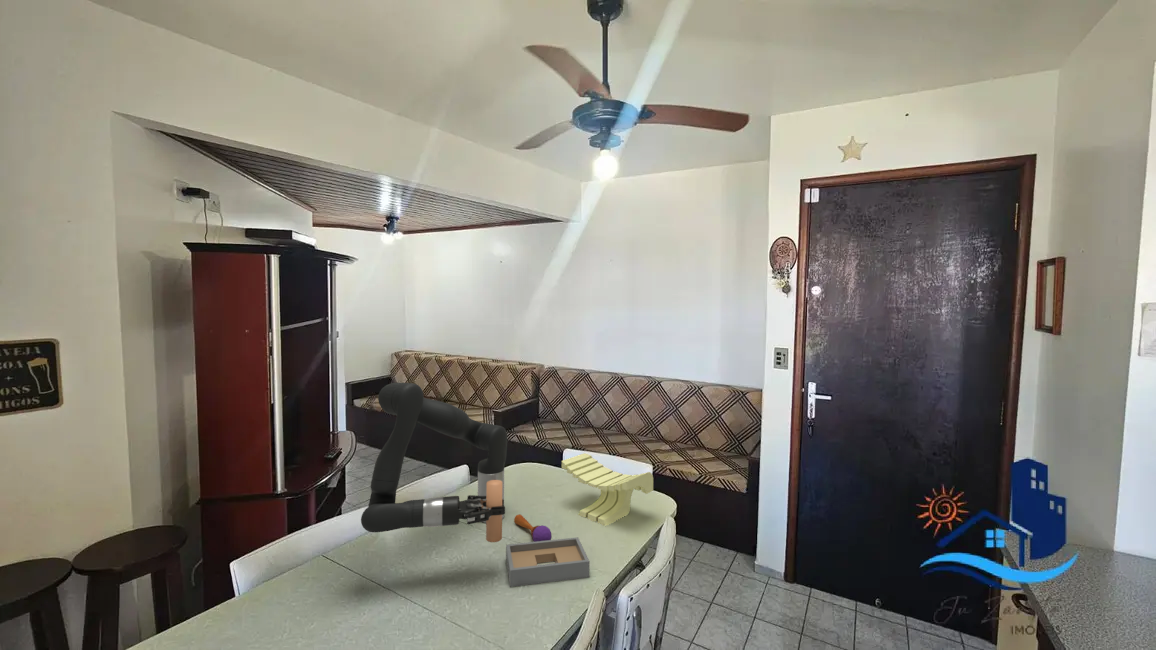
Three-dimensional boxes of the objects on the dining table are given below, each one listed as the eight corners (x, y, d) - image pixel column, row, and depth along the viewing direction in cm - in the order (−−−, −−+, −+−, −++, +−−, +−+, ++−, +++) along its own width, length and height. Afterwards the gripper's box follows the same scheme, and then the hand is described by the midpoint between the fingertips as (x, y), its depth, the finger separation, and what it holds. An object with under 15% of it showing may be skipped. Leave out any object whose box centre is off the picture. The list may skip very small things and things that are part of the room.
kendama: (527, 510, 167) (556, 528, 150) (524, 527, 166) (553, 548, 149) (511, 510, 163) (539, 529, 147) (509, 528, 163) (537, 549, 146)
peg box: (505, 559, 141) (506, 544, 141) (577, 551, 146) (578, 537, 146) (510, 586, 128) (510, 570, 127) (589, 577, 133) (589, 561, 132)
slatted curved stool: (652, 519, 169) (653, 469, 168) (625, 534, 157) (626, 481, 157) (589, 495, 189) (589, 451, 189) (561, 507, 178) (561, 460, 177)
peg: (485, 535, 136) (486, 480, 135) (501, 534, 137) (501, 479, 136) (486, 543, 131) (486, 486, 131) (502, 541, 132) (502, 485, 132)
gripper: (439, 509, 123) (506, 503, 127) (442, 488, 137) (502, 483, 141) (439, 537, 124) (506, 531, 127) (442, 513, 137) (502, 508, 141)
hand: (504, 506), depth 134 cm, fingers closed on peg, 4 cm apart
